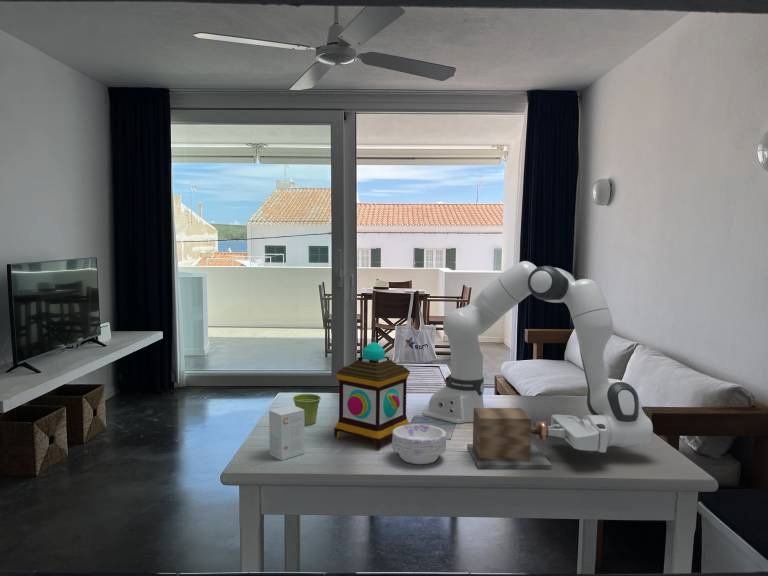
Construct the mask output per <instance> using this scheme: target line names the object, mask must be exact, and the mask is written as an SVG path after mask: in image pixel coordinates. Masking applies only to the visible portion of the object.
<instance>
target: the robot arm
mask: <svg viewBox="0 0 768 576" xmlns="http://www.w3.org/2000/svg"><path fill="white" fill-rule="evenodd" d="M530 295H533V296H534V297H535V298H536V299H538V300H540V301H541V300H542V301H544V302H547V303H557V304H565V305H566V306H567V308H568V311H569V313H570V317H571V320H572V324H573V327H574V331H575V334H576V337H577V342H578V348H579V354H580V359H581V363H582V367H583V373H584V377H585V380H586V385H587V398H586V405H587V409H588V411H589V412H590V414H586V415H584V416H583V419H580V418H579V417H577V416H576V415H570V414H558V413H557V414H555V413H554V414H552V415H551V416H550V425H547V426H548V437H550V436H551V437H557V438H563V439H564V440H565V441H566V442H567V443H568V444H569V445H570V446H571V447H572V448H573V449H575V450H579V451H588V452H589V451H590V452H594V451H595V452H596V451H597V452H598V453H607V448H608V447H613V446H614V447H619V448H633V447H641V446H644V445H647V444H648V443H649V442H651V439H652V437H653V434H654V433H653V432H654V425H653V422H652V420H651V419H650V417H648V416H647V414H646V413H645V412H644V410H643V408H642V406H641V404H640V400H639V399H640V398H639V395H638V393H637V390H636V389H635V387H633V386H632V385H631V384H629V383H627V382H624V381H622V382H616V383H612V384H609V381H608V378H609V377H608V372H607V370H606V366H605V361H604V352H605V350H606V346H607V345H608V342H609V341H610V339H611V337H612V335H613V333H614V324H613V317H612V314H611V312H610V308H609V306H608V302H607V300H606V297H605V296H604V293H603V292H602V290H601V288H600V286H599V284H598V283H597V282H596V281H594V280H593V279H590V278H580V279H578V280H577V279H576V277H575V276H574V274H572V273H570V272H569V271H566V270H564V269H562V268H559V267H553V266H552V265H543V266H536V265H535V264H534V263H533V262H530V261H528V260H523V261H520V262H518V263H516V264H515V265H512V266H511V267H510V268H508V269H507V270H505V271H504V272H502V273H501V274H499V276H497V277H496V278H494V280H493V281H492V282H490V283H489V284H487V286H485V287H484V288H483V289H482V290H481V291H480V293H479V294H478V295H477V296H476V297H475V298H474V299H473V300H472V301H471V302H470V303H469V304H467V305H465V306H462V307H459V308H458V307H457V308H455V309H452V310H451V311H450V312H449V313H448V314H447V315H446V316H445V317H444V319H443V322H442V328H443V329H442V330H443V331H444V333H445V335H446V337H447V341H448V344H449V350H450V358H451V359H450V374H448V376H447V377H445V378H444V383H445V385H444V386H443V387H441V388H440V389H439V390H437V391H436V392H434V393H433V394H432V395H431V396H430V399H429V403H428V406H425V407H424V408H423V409H422V412H421V413H422V415H423V416H424V417H430V418H433V419H437V420H441V421H446V422H450V423H453V424H462V423H463V424H465V423H473V416H474V408H485V406H484V404H485V403H484V395H483V394H484V392H485V391H484V389H485V381H484V380H485V377H484V376H483V372H484V355H483V352H482V351H481V347H480V343H479V336H481V335H483V334H484V333H486V331H488V330H489V329H490V328H491V327H492V326H493V325H494V324H495V323H496V322H498V320H500V319H502V317H503V316H504V315H505V314H506V313H508V312H509V311H511V310H512V309H513V308H514V307H516V306H517V305H518V304H519V303H521V302H522V301H524V299H526V298H527V297H528V296H530Z"/></svg>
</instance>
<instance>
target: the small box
mask: <svg viewBox="0 0 768 576" xmlns="http://www.w3.org/2000/svg"><path fill="white" fill-rule="evenodd" d="M268 419H269V420H268V421H269V422H268V425H269V426H268V428H269V432H268V433H269V434H268V435H269V456H272V457H274V459H275V458H276V459H278V460H279V461H285V460H288V459H291V458H294V457H297V456H302V455H305V452H306V451H305V449H306V448H305V440H306V439H305V433H306V432H305V425H304V409H301V408H299V407H296V406H295V405H288V406H287V405H286V406H282V407H279V408H275V409H270V410H269V411H268Z"/></svg>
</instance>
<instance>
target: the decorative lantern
mask: <svg viewBox="0 0 768 576" xmlns="http://www.w3.org/2000/svg"><path fill="white" fill-rule="evenodd" d="M410 373H411V371H410V370H409V369H408V368H407V367H405V366H404V365H403V364H399V363H398V364H397V363H396V362H394V361H393V360H392V359H390V357H389V356H386V355H385V348H383V347H382V346H381V345H380V343H378V342H374V341H373V342H370V343H368V344H367V345H366V346H365V347H364V348H363V350H362V356H359V357H357V360H355V361H354V362H353V363H350V364H348V365H345V366H343V367H342V368H340V369H339V370H338V371H337V372H336V373H335V374H336V375H335V376H336V378H337V379H338V383H339V385H338V387H339V389H338V392H339V393H338V396H339V397H338V401H339V402H338V420H337V422H336V425H335V427H334V431H333V433H334V438H335V439H338V438H339V439H340V438H341V433H345V434H349V435H353V436H357V437H360V438H365V439H367V440H372V441H374V443H375V448H376V450H377V451H379V450H380V449H381V448H382V447H381V446H382V443H383V441H384V440H386V439H387V438H390V437H392V432H393V430H394V429H395V428H397V427H399V426H403V425H409V424H410V422H409V420H408V418H407V386H408V385H407V384H408V383H407V381H408V377H409V376H410ZM339 439H338V440H339Z"/></svg>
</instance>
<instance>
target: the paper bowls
mask: <svg viewBox="0 0 768 576" xmlns="http://www.w3.org/2000/svg"><path fill="white" fill-rule="evenodd" d="M391 438H392V439H391V448H392V449H391V450H393V451H394V452H396V453H397V454H399V456H400V458H401V459H402V460H403V461H404V462H406V463H409V464H412V465H413V464H414V465H428V464H431V463H434V462H436V461H437V459H438V458H439V456H441V455H442V454H444V453H445V452H446V451H447V433H446V431H445V430H444V429H443V428H441V427H438V426H435V425H430V424H423V423H417V424H415V423H413V424H410V423H409V425H403V426H399V427H397V428H395V429H394V430H393V432H392V436H391Z"/></svg>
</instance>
